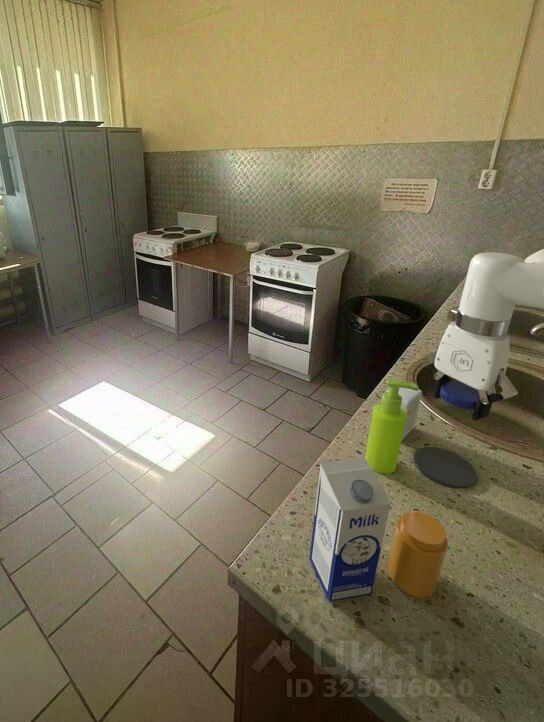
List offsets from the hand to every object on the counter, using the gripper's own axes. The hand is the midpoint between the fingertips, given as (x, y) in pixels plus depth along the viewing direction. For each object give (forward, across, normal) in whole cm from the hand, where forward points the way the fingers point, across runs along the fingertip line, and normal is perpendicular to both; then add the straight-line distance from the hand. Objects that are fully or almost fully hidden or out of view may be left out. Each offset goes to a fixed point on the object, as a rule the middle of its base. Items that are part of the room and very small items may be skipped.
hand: (458, 406), depth 76 cm
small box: (+15, -12, +1) cm, 20 cm away
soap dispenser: (+15, -6, -10) cm, 19 cm away
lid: (-3, 0, 0) cm, 3 cm away
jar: (+15, +13, -26) cm, 32 cm away
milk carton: (+15, +8, -36) cm, 40 cm away
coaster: (+15, 0, 0) cm, 15 cm away
